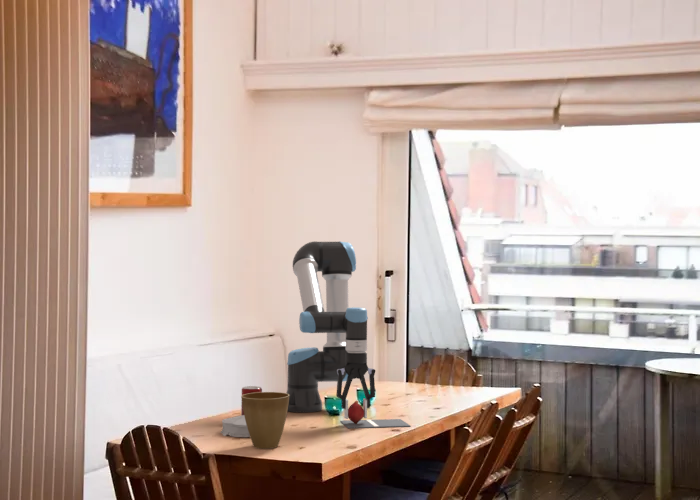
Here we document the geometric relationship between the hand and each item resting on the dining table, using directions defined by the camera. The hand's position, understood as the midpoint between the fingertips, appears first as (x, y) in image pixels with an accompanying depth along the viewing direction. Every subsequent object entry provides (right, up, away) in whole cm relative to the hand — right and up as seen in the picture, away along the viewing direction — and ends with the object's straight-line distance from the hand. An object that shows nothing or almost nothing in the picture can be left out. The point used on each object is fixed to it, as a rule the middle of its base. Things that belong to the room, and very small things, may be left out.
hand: (355, 417), depth 350 cm
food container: (-35, -3, -17) cm, 39 cm away
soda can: (-37, -2, +6) cm, 37 cm away
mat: (+7, -3, +1) cm, 7 cm away
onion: (0, -2, 0) cm, 2 cm away
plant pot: (-28, -2, -41) cm, 50 cm away
